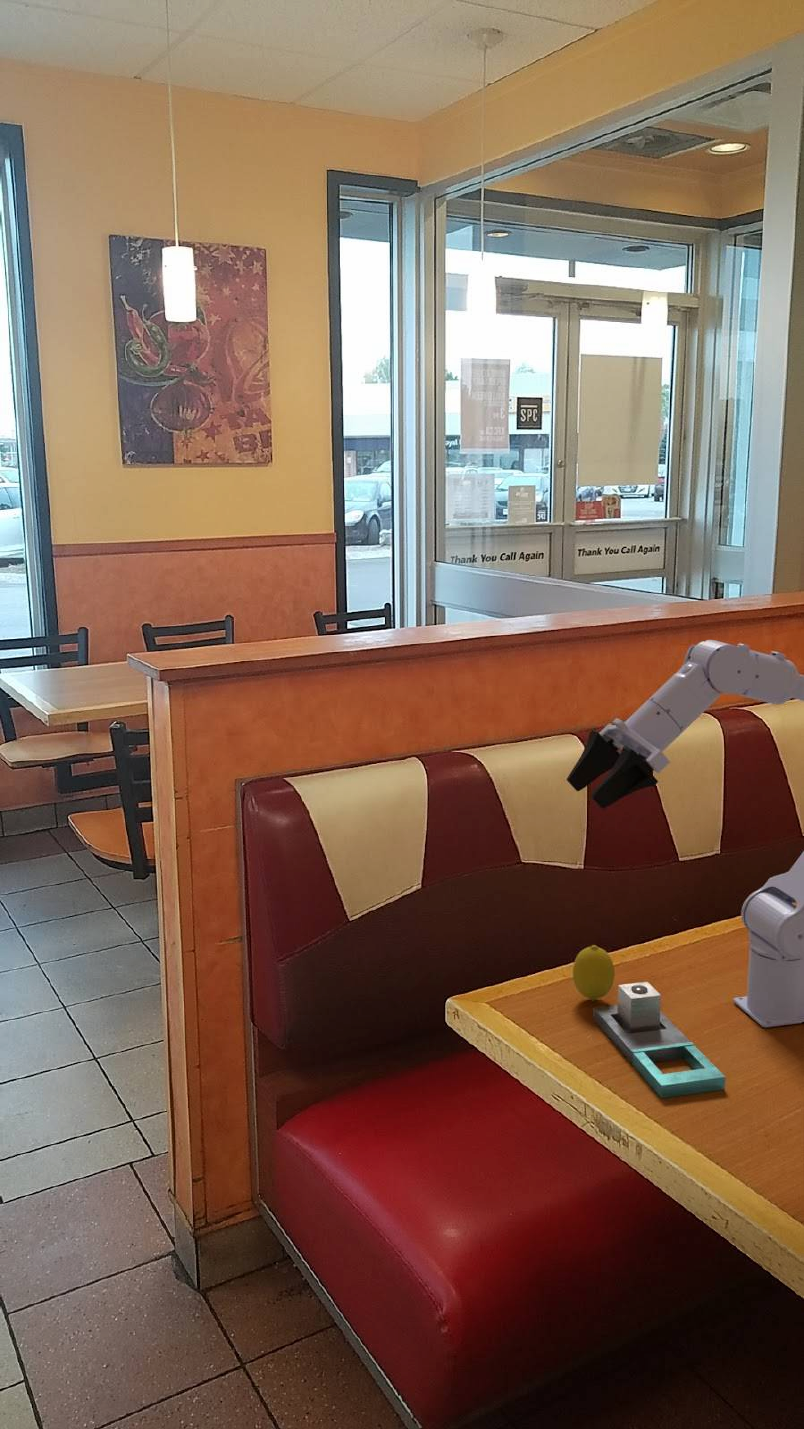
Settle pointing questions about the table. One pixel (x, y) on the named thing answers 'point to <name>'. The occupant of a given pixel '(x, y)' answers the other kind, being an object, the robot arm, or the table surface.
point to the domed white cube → (638, 1007)
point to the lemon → (593, 972)
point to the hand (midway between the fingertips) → (583, 794)
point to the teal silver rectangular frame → (662, 1056)
